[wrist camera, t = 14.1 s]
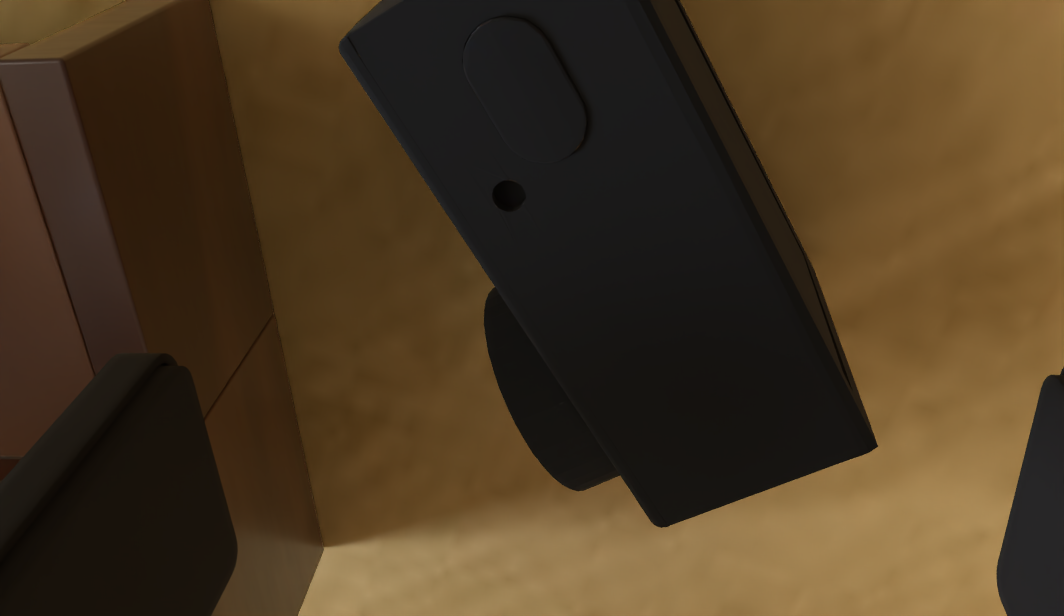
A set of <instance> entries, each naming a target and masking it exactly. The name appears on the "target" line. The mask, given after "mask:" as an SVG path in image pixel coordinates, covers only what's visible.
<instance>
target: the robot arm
mask: <svg viewBox="0 0 1064 616" xmlns="http://www.w3.org/2000/svg"><path fill="white" fill-rule="evenodd" d="M237 554H238V544H237V538H236V534H235V531H234V527H233V523H232V520H231V516H230V512H229V509H228V505H227V501H226V498H225V494H224V490H223V487H222V483H221V479H220V476H219V472H218V469H217V465H216V461H215V458H214V454H213V450H212V447H211V443H210V439H209V436H208V432H207V428H206V425H205V421H204V417H203V414H202V410H201V407H200V403H199V399H198V396H197V392H196V388H195V385H194V381H193V378H192V375H191V372H190V371H189V370H188V368H187V367H184V366H178V364H177V362H176V360H175V359H174V358H173V357H172V356H171V355H169V354H167V353H119V354H116V355H115V356H113V357H112V358H111V359H110V360H109V361H108V362H107V363H106V364H105V366H104V367H103V368H102V369H101V370H100V371H99V372H98V373H97V375H96V376H95V377H94V378H93V379H92V380H91V381H90V382H89V383H88V385H87V386H86V387H85V388H84V389H83V390H82V391H81V392H80V394H79V395H78V396H77V397H76V398H75V399H74V400H73V401H72V403H71V404H70V405H69V406H68V407H67V408H66V409H65V410H64V412H63V413H62V414H61V415H60V416H59V417H58V418H57V419H56V421H55V422H54V423H53V424H52V425H51V426H50V427H49V428H48V430H47V431H46V432H45V433H44V434H43V435H42V436H41V437H40V439H39V440H38V441H37V442H36V443H35V444H34V445H33V446H32V448H31V449H30V450H29V451H28V452H27V453H26V454H25V455H24V457H23V458H22V459H21V460H20V461H19V462H18V463H17V464H16V466H15V467H14V468H13V469H12V470H11V471H10V472H9V473H8V475H7V476H6V477H5V478H4V479H3V480H2V481H1V482H0V616H211V615H212V613H213V611H214V609H215V607H216V605H217V603H218V602H219V600H220V598H221V596H222V594H223V592H224V590H225V588H226V586H227V584H228V582H229V580H230V578H231V576H232V574H233V571H234V569H235V566H236V561H237ZM997 587H998V592H999V596H1000V599H1001V602H1002V604H1003V607H1004V609H1005V611H1006V614H1007V616H1064V368H1063V369H1062V371H1061V374H1060V375H1050V376H1048V377H1047V378H1046V379H1045V380H1044V382H1043V385H1042V388H1041V391H1040V395H1039V399H1038V403H1037V407H1036V411H1035V415H1034V419H1033V423H1032V427H1031V431H1030V435H1029V439H1028V443H1027V448H1026V452H1025V456H1024V460H1023V464H1022V468H1021V472H1020V476H1019V480H1018V484H1017V488H1016V492H1015V496H1014V500H1013V504H1012V508H1011V512H1010V516H1009V520H1008V524H1007V528H1006V532H1005V536H1004V540H1003V544H1002V548H1001V552H1000V556H999V560H998V565H997Z"/></svg>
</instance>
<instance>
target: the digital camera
mask: <svg viewBox="0 0 1064 616" xmlns="http://www.w3.org/2000/svg"><path fill="white" fill-rule="evenodd" d="M339 51H340V54H341V56H342V57H343V59H344V60H345V62H346V63H347V65H348V66H349V68H350V69H351V71H352V72H353V74H354V75H355V77H356V78H357V80H358V81H359V83H360V84H361V86H362V87H363V89H364V90H365V92H366V93H367V95H368V96H369V98H370V99H371V101H372V102H373V104H374V105H375V107H376V108H377V110H378V111H379V113H380V114H381V116H382V117H383V119H384V120H385V122H386V123H387V125H388V126H389V128H390V129H391V131H392V132H393V134H394V135H395V137H396V138H397V140H398V141H399V143H400V144H401V146H402V147H403V149H404V150H405V152H406V153H407V155H408V156H409V158H410V159H411V161H412V162H413V164H414V165H415V167H416V168H417V170H418V172H419V173H420V175H421V176H422V178H423V179H424V181H425V182H426V184H427V185H428V187H429V188H430V190H431V191H432V193H433V194H434V196H435V197H436V199H437V200H438V202H439V203H440V205H441V206H442V208H443V209H444V211H445V212H446V214H447V215H448V217H449V218H450V220H451V221H452V223H453V224H454V226H455V227H456V229H457V230H458V232H459V233H460V235H461V236H462V238H463V239H464V241H465V242H466V244H467V245H468V247H469V248H470V250H471V251H472V253H473V254H474V256H475V257H476V259H477V260H478V262H479V263H480V265H481V266H482V268H483V269H484V271H485V272H486V274H487V275H488V277H489V278H490V280H491V281H492V283H493V284H494V286H495V288H493V289H492V290H491V291H490V292H489V294H488V296H487V299H486V302H485V309H484V328H485V336H486V342H487V348H488V353H489V357H490V360H491V364H492V367H493V371H494V374H495V377H496V380H497V383H498V386H499V389H500V391H501V394H502V396H503V398H504V401H505V403H506V406H507V408H508V410H509V412H510V414H511V416H512V418H513V420H514V422H515V424H516V426H517V428H518V429H519V431H520V433H521V435H522V436H523V438H524V440H525V441H526V443H527V445H528V446H529V448H530V449H531V451H532V453H533V454H534V455H535V457H536V458H537V459H538V460H539V462H540V463H541V464H542V466H543V467H544V468H545V469H546V470H547V471H548V472H549V473H550V475H551V476H552V477H553V478H554V479H556V480H557V481H558V482H559V483H561V484H562V485H564V486H565V487H567V488H569V489H572V490H575V491H584V490H586V489H589V488H591V487H594V486H596V485H599V484H601V483H603V482H606V481H608V480H611V479H613V478H615V477H618V476H621V477H622V479H623V480H624V482H625V483H626V485H627V486H628V488H629V489H630V491H631V492H632V494H633V495H634V497H635V498H636V500H637V501H638V503H639V504H640V506H641V507H642V509H643V510H644V512H645V513H646V515H647V516H648V518H649V519H650V521H651V522H652V523H653V524H654V525H656V526H658V527H661V528H662V527H669V526H670V525H673V524H675V523H678V522H681V521H684V520H686V519H689V518H692V517H694V516H697V515H700V514H703V513H705V512H708V511H711V510H713V509H716V508H719V507H722V506H724V505H727V504H730V503H732V502H735V501H738V500H741V499H743V498H746V497H749V496H751V495H754V494H757V493H760V492H762V491H765V490H768V489H771V488H773V487H776V486H779V485H781V484H784V483H787V482H790V481H792V480H795V479H798V478H800V477H803V476H806V475H809V474H811V473H814V472H817V471H819V470H822V469H825V468H828V467H830V466H833V465H836V464H838V463H841V462H844V461H847V460H850V459H853V458H856V457H859V456H861V455H864V454H866V453H869V452H870V451H872V450H873V449H875V448H877V447H878V445H877V442H876V439H875V436H874V434H873V431H872V428H871V425H870V422H869V420H868V417H867V414H866V411H865V409H864V406H863V403H862V400H861V398H860V395H859V392H858V389H857V387H856V384H855V381H854V378H853V376H852V373H851V370H850V367H849V365H848V362H847V359H846V356H845V354H844V351H843V348H842V345H841V343H840V340H839V337H838V334H837V332H836V329H835V326H834V323H833V321H832V318H831V315H830V312H829V310H828V307H827V304H826V302H825V299H824V296H823V293H822V291H821V288H820V285H819V282H818V280H817V277H816V274H815V271H814V269H813V267H812V265H811V263H810V261H809V259H808V257H807V255H806V253H805V251H804V249H803V247H802V245H801V243H800V241H799V239H798V237H797V235H796V232H795V230H794V228H793V226H792V224H791V222H790V220H789V218H788V216H787V214H786V212H785V210H784V208H783V206H782V204H781V202H780V200H779V198H778V196H777V194H776V192H775V190H774V188H773V186H772V184H771V182H770V180H769V178H768V176H767V174H766V172H765V170H764V168H763V166H762V164H761V162H760V160H759V158H758V156H757V154H756V152H755V150H754V148H753V146H752V144H751V142H750V140H749V138H748V136H747V134H746V132H745V130H744V128H743V126H742V124H741V122H740V120H739V118H738V116H737V114H736V112H735V110H734V108H733V106H732V104H731V102H730V100H729V98H728V96H727V94H726V92H725V90H724V88H723V86H722V84H721V82H720V80H719V78H718V76H717V74H716V72H715V70H714V68H713V66H712V64H711V62H710V60H709V58H708V56H707V54H706V52H705V50H704V48H703V46H702V44H701V42H700V40H699V38H698V36H697V34H696V32H695V30H694V28H693V26H692V24H691V22H690V20H689V18H688V16H687V14H686V12H685V10H684V8H683V6H682V4H681V2H680V0H382V1H380V2H379V3H378V4H377V5H376V6H375V7H374V8H373V9H372V10H371V11H370V12H369V13H368V14H366V15H365V16H364V17H363V18H362V19H361V20H360V21H359V22H358V23H357V24H356V25H355V26H354V27H353V28H352V29H351V30H350V31H349V32H348V33H347V35H346V36H345V37H344V38H343V39H342V40H341V41H340V44H339Z"/></svg>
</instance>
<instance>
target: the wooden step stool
mask: <svg viewBox="0 0 1064 616" xmlns="http://www.w3.org/2000/svg"><path fill="white" fill-rule="evenodd" d="M273 312H274V310H273V305H272V300H271V296H270V291H269V286H268V281H267V277H266V272H265V267H264V262H263V257H262V253H261V248H260V243H259V238H258V234H257V229H256V224H255V219H254V214H253V210H252V205H251V200H250V195H249V191H248V186H247V181H246V176H245V171H244V167H243V162H242V157H241V152H240V148H239V143H238V138H237V133H236V129H235V124H234V119H233V114H232V109H231V105H230V100H229V95H228V90H227V86H226V81H225V76H224V71H223V66H222V62H221V57H220V52H219V47H218V43H217V38H216V33H215V28H214V23H213V19H212V14H211V9H210V4H209V0H127V1H125V2H123V3H120V4H118V5H116V6H114V7H112V8H109V9H107V10H105V11H103V12H101V13H99V14H96V15H94V16H92V17H90V18H88V19H85V20H83V21H81V22H79V23H77V24H74V25H72V26H70V27H68V28H66V29H63V30H61V31H59V32H57V33H55V34H52V35H50V36H48V37H46V38H44V39H41V40H39V41H37V42H35V43H33V44H28V43H12V44H0V482H1V481H2V480H3V479H4V478H5V477H6V476H7V475H8V473H9V472H10V471H11V470H12V469H13V468H14V467H15V466H16V464H17V463H18V462H19V461H20V460H21V459H22V458H23V457H24V455H25V454H26V453H27V452H28V451H29V450H30V449H31V448H32V446H33V445H34V444H35V443H36V442H37V441H38V440H39V439H40V437H41V436H42V435H43V434H44V433H45V432H46V431H47V430H48V428H49V427H50V426H51V425H52V424H53V423H54V422H55V421H56V419H57V418H58V417H59V416H60V415H61V414H62V413H63V412H64V410H65V409H66V408H67V407H68V406H69V405H70V404H71V403H72V401H73V400H74V399H75V398H76V397H77V396H78V395H79V394H80V392H81V391H82V390H83V389H84V388H85V387H86V386H87V385H88V383H89V382H90V381H91V380H92V379H93V378H94V377H95V376H96V375H97V373H98V372H99V371H100V370H101V369H102V368H103V367H104V366H105V364H106V363H107V362H108V361H109V360H110V359H111V358H112V357H113V356H115V355H116V354H119V353H167V354H169V355H171V356H172V357H173V358H174V359H175V360H176V362H177V364H178V366H184V367H187V368H188V370H189V371H190V372H191V375H192V378H193V381H194V385H195V388H196V392H197V396H198V399H199V403H200V407H201V410H202V414H203V417H204V421H205V425H206V428H207V432H208V436H209V439H210V443H211V447H212V450H213V454H214V458H215V461H216V465H217V469H218V472H219V476H220V479H221V483H222V487H223V490H224V494H225V498H226V501H227V505H228V509H229V512H230V516H231V520H232V523H233V527H234V531H235V534H236V538H237V544H238V554H237V561H236V566H235V569H234V571H233V574H232V576H231V578H230V580H229V582H228V584H227V586H226V588H225V590H224V592H223V594H222V596H221V598H220V600H219V602H218V603H217V605H216V607H215V609H214V611H213V613H212V615H211V616H298V614H299V611H300V609H301V606H302V604H303V601H304V599H305V596H306V594H307V591H308V589H309V586H310V583H311V581H312V578H313V576H314V573H315V571H316V568H317V566H318V563H319V561H320V558H321V556H322V553H323V550H324V548H323V543H322V539H321V534H320V529H319V524H318V519H317V515H316V510H315V505H314V500H313V496H312V491H311V486H310V481H309V476H308V472H307V467H306V462H305V457H304V453H303V448H302V443H301V438H300V433H299V429H298V424H297V419H296V414H295V410H294V405H293V400H292V395H291V390H290V386H289V381H288V376H287V371H286V367H285V362H284V357H283V352H282V348H281V343H280V338H279V333H278V328H277V324H276V319H275V315H274V314H273Z"/></svg>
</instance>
